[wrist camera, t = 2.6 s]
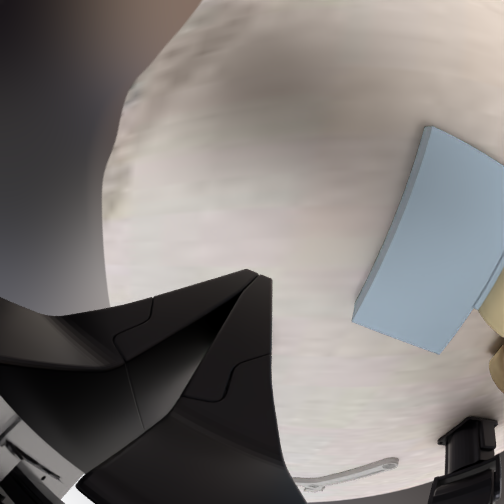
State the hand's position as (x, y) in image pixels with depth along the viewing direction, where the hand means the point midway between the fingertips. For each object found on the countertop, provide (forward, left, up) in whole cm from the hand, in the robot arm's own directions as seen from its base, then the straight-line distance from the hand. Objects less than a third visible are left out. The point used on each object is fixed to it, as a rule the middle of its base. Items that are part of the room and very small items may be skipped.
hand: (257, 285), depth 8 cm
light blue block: (0, -12, -12) cm, 17 cm away
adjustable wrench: (-42, -21, -12) cm, 48 cm away
